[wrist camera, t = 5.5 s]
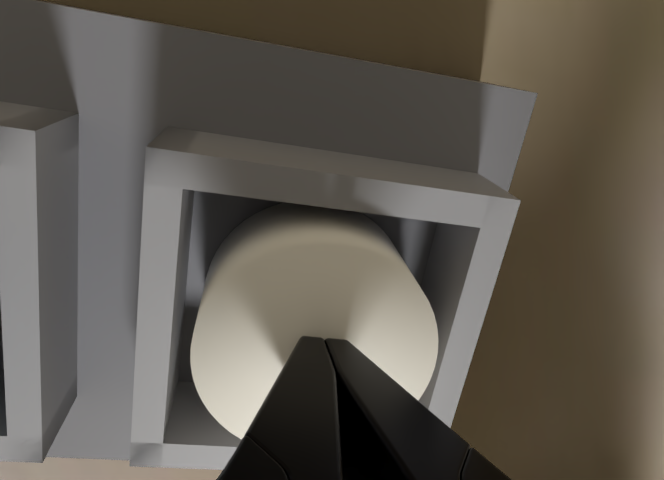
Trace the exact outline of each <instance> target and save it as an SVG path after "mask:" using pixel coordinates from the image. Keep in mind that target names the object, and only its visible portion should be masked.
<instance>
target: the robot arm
mask: <svg viewBox="0 0 664 480" xmlns="http://www.w3.org/2000/svg"><path fill="white" fill-rule="evenodd" d="M216 480H511V479H510V478H509V477H508V476H506V475H505V474H504V473H503V472H502V471H500V470H499V469H498V468H497V467H495V466H494V465H493V464H492V463H491V462H489V461H488V460H487V459H486V458H485V457H484V456H482V455H481V454H480V453H479V452H478V451H477V450H475V449H474V448H470V445H469V444H468V443H467V442H466V441H465V440H463V439H462V438H461V437H460V436H459V435H458V434H456V433H455V432H454V431H453V430H452V429H451V428H449V427H448V426H447V425H446V424H445V423H444V422H442V421H441V420H440V419H439V418H438V417H437V416H435V415H434V414H433V413H432V412H431V411H430V410H428V409H427V408H426V407H425V406H424V405H423V404H421V403H420V402H419V401H418V400H417V399H416V398H414V397H413V396H412V395H411V394H410V393H409V392H407V391H406V390H405V389H404V388H403V387H402V386H400V385H399V384H398V383H397V382H396V381H395V380H393V379H392V378H391V377H390V376H389V375H388V374H386V373H385V372H384V371H383V370H382V369H381V368H379V367H378V366H377V365H376V364H375V363H374V362H372V361H371V360H370V359H369V358H368V357H367V356H365V355H364V354H363V353H362V352H361V351H360V350H358V349H357V348H356V347H355V346H354V345H353V344H351V343H350V342H349V341H348V340H345V339H334V338H327V339H325V340H324V339H323V338H321V337H311V336H302V337H300V339H299V340H298V342H297V344H296V346H295V347H294V349H293V351H292V353H291V354H290V356H289V358H288V360H287V361H286V363H285V365H284V367H283V368H282V370H281V372H280V374H279V375H278V377H277V379H276V381H275V382H274V384H273V386H272V388H271V389H270V391H269V393H268V395H267V396H266V398H265V400H264V402H263V403H262V405H261V407H260V409H259V410H258V412H257V414H256V416H255V417H254V419H253V421H252V423H251V424H250V426H249V428H248V430H247V431H246V433H245V435H244V437H243V438H242V440H241V441H240V443H239V445H238V447H237V448H236V450H235V452H234V454H233V455H232V457H231V458H230V460H229V461H228V463H227V465H226V466H225V468H224V469H223V471H222V472H221V474H220V475H219V477H218V478H217V479H216Z"/></svg>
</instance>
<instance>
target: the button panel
mask: <svg viewBox="0 0 664 480" xmlns="http://www.w3.org/2000/svg"><path fill="white" fill-rule="evenodd" d="M537 94H538V93H534V92H529V91H524V90H519V89H514V88H509V87H504V86H499V85H495V84H490V83H485V82H480V81H474V80H469V79H463V78H458V77H452V76H447V75H442V74H436V73H431V72H425V71H420V70H414V69H409V68H404V67H398V66H393V65H387V64H382V63H376V62H371V61H366V60H360V59H355V58H349V57H344V56H338V55H333V54H328V53H322V52H317V51H311V50H306V49H300V48H295V47H290V46H284V45H279V44H273V43H268V42H262V41H257V40H252V39H246V38H241V37H235V36H230V35H224V34H219V33H214V32H208V31H203V30H197V29H192V28H186V27H181V26H176V25H170V24H165V23H159V22H154V21H148V20H143V19H138V18H132V17H127V16H121V15H116V14H110V13H105V12H100V11H94V10H89V9H83V8H78V7H72V6H67V5H62V4H56V3H51V2H45V1H40V0H0V461H9V462H35V463H43V461H44V459H45V457H62V458H86V459H111V460H130V466H138V467H164V468H189V469H215V470H223V469H224V468H225V466H226V465H227V463H228V461H229V460H230V458H231V457H232V455H233V454H234V452H235V450H236V448H237V447H238V445H239V443H240V441H241V439H240V438H238V437H237V436H235V435H233V434H232V433H230V432H229V431H228V430H227V429H225V428H224V427H223V426H222V425H221V424H219V422H218V421H217V420H216V419H215V418H214V417H213V416H212V415H211V414H210V412H209V411H208V409H207V408H206V407H205V405H204V404H203V402H202V400H201V398H200V396H199V394H198V392H197V390H196V387H195V384H194V380H193V377H192V371H191V364H190V348H191V342H192V337H193V332H194V327H195V323H196V319H197V315H198V310H199V306H200V302H201V298H202V294H203V289H204V285H205V281H206V277H207V273H208V270H209V267H210V264H211V261H212V259H213V257H214V255H215V253H216V251H217V249H218V248H219V247H220V245H221V244H222V242H223V241H224V239H225V238H226V237H227V236H228V235H229V234H230V233H231V232H232V231H233V230H234V229H235V228H236V227H237V226H238V225H240V224H241V223H242V222H243V221H244V220H246V219H248V218H249V217H251V216H252V215H254V214H256V213H258V212H260V211H262V210H264V209H266V208H268V207H271V206H275V205H278V204H281V203H285V202H287V203H294V204H302V205H310V206H317V207H325V208H332V209H340V210H348V211H355V212H360V213H362V214H363V215H365V216H366V217H368V218H369V219H371V220H372V221H373V222H374V223H376V224H377V225H378V226H379V227H380V228H381V229H382V230H383V231H384V232H385V234H386V235H387V236H388V237H389V238H390V240H391V241H392V243H393V245H394V246H395V248H396V249H397V251H398V253H399V254H400V256H401V257H402V259H403V260H404V262H405V264H406V265H407V267H408V268H409V270H410V272H411V273H412V275H413V276H414V278H415V280H416V281H417V283H418V284H419V286H420V287H421V289H422V291H423V292H424V294H425V296H426V297H427V299H428V301H429V303H430V305H431V308H432V310H433V312H434V316H435V320H436V324H437V329H438V355H437V360H436V364H435V368H434V371H433V374H432V377H431V380H430V382H429V384H428V386H427V388H426V389H425V391H424V393H423V395H422V396H421V398H420V399H419V400H418V401H419V402H420V403H421V404H423V405H424V406H425V407H426V408H427V409H428V410H430V411H431V412H432V413H433V414H434V415H435V416H437V417H438V418H439V419H440V420H441V421H442V422H444V423H445V424H446V425H447V426H448V427H449V428H451V425H452V421H453V418H454V415H455V412H456V408H457V405H458V402H459V399H460V395H461V392H462V389H463V386H464V383H465V379H466V376H467V373H468V370H469V366H470V363H471V360H472V357H473V354H474V350H475V347H476V344H477V341H478V337H479V334H480V331H481V328H482V325H483V321H484V318H485V315H486V312H487V308H488V305H489V302H490V299H491V296H492V292H493V289H494V286H495V283H496V279H497V276H498V273H499V270H500V266H501V263H502V260H503V257H504V254H505V250H506V247H507V244H508V241H509V237H510V234H511V231H512V228H513V225H514V221H515V218H516V215H517V212H518V208H519V205H520V202H521V200H520V199H518V198H516V197H515V196H513V195H512V194H510V193H508V191H509V188H510V184H511V181H512V178H513V174H514V171H515V168H516V164H517V161H518V158H519V154H520V151H521V148H522V144H523V141H524V138H525V134H526V131H527V128H528V124H529V121H530V117H531V114H532V111H533V107H534V104H535V101H536V97H537Z"/></svg>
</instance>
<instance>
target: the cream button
mask: <svg viewBox="0 0 664 480" xmlns="http://www.w3.org/2000/svg"><path fill="white" fill-rule="evenodd" d="M302 336H311V337H321V338H323V339H324V340H325V339H327V338H334V339H345V340H348V341H349V342H350V343H351V344H353V345H354V346H355V347H356V348H357V349H358V350H360V351H361V352H362V353H363V354H364V355H365V356H367V357H368V358H369V359H370V360H371V361H372V362H374V363H375V364H376V365H377V366H378V367H379V368H381V369H382V370H383V371H384V372H385V373H386V374H388V375H389V376H390V377H391V378H392V379H393V380H395V381H396V382H397V383H398V384H399V385H400V386H402V387H403V388H404V389H405V390H406V391H407V392H409V393H410V394H411V395H412V396H413V397H414V398H416V399H417V400H419V399H420V398H421V396H422V395H423V393H424V391H425V389H426V388H427V386H428V384H429V382H430V380H431V377H432V374H433V371H434V368H435V364H436V360H437V355H438V329H437V324H436V320H435V316H434V312H433V310H432V308H431V305H430V303H429V301H428V299H427V297H426V296H425V294H424V292H423V291H422V289H421V287H420V286H419V284H418V283H417V281H416V280H415V278H414V276H413V275H412V273H411V272H410V270H409V268H408V267H407V265H406V264H405V262H404V260H403V259H402V257H401V256H400V254H399V253H398V251H397V249H396V248H395V246H394V245H393V243H392V241H391V240H390V238H389V237H388V236H387V235H386V234H385V232H384V231H383V230H382V229H381V228H380V227H379V226H378V225H377V224H376V223H374V222H373V221H372V220H371V219H369V218H368V217H366V216H365V215H363V214H362V213H360V212H355V211H348V210H340V209H332V208H325V207H317V206H310V205H302V204H294V203H287V202H285V203H281V204H278V205H275V206H271V207H268V208H266V209H264V210H262V211H260V212H258V213H256V214H254V215H252V216H251V217H249V218H248V219H246V220H244V221H243V222H242V223H241V224H240V225H238V226H237V227H236V228H235V229H234V230H233V231H232V232H231V233H230V234H229V235H228V236H227V237H226V238H225V239H224V241H223V242H222V244H221V245H220V247H219V248H218V249H217V251H216V253H215V255H214V257H213V259H212V261H211V264H210V267H209V270H208V273H207V277H206V281H205V285H204V289H203V294H202V298H201V302H200V306H199V310H198V315H197V319H196V323H195V327H194V332H193V337H192V342H191V348H190V364H191V371H192V377H193V380H194V384H195V387H196V390H197V392H198V394H199V396H200V398H201V400H202V402H203V404H204V405H205V407H206V408H207V409H208V411H209V412H210V414H211V415H212V416H213V417H214V418H215V419H216V420H217V421H218V422H219V424H221V425H222V426H223V427H224V428H225V429H227V430H228V431H229V432H230V433H232V434H233V435H235V436H237V437H238V438H240V439H241V440H242V438H243V437H244V435H245V433H246V431H247V430H248V428H249V426H250V424H251V423H252V421H253V419H254V417H255V416H256V414H257V412H258V410H259V409H260V407H261V405H262V403H263V402H264V400H265V398H266V396H267V395H268V393H269V391H270V389H271V388H272V386H273V384H274V382H275V381H276V379H277V377H278V375H279V374H280V372H281V370H282V368H283V367H284V365H285V363H286V361H287V360H288V358H289V356H290V354H291V353H292V351H293V349H294V347H295V346H296V344H297V342H298V340H299V339H300V337H302Z"/></svg>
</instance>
